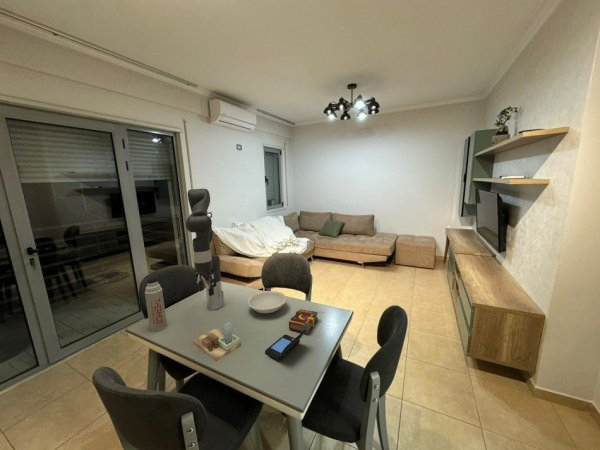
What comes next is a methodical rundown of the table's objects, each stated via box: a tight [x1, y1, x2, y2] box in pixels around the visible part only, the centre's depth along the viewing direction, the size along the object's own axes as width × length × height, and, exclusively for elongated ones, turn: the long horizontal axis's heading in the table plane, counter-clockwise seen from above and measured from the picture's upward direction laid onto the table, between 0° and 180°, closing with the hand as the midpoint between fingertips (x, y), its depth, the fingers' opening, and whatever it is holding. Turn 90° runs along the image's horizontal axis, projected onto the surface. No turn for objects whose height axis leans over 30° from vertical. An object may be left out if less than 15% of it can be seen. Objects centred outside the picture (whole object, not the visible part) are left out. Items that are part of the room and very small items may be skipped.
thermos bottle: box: [144, 278, 168, 333], centre depth 130 cm, size 8×8×28 cm
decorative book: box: [288, 308, 319, 335], centre depth 133 cm, size 11×16×5 cm
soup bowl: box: [246, 290, 288, 314], centre depth 149 cm, size 24×24×7 cm
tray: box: [218, 333, 241, 351], centre depth 116 cm, size 7×7×2 cm
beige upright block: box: [202, 334, 219, 349], centre depth 116 cm, size 6×5×3 cm
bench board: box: [192, 327, 241, 362], centre depth 118 cm, size 13×21×5 cm, turn 50°
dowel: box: [222, 321, 233, 345], centre depth 115 cm, size 4×4×10 cm
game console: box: [264, 329, 306, 362], centre depth 112 cm, size 16×14×9 cm
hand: (206, 292), depth 113 cm, fingers open, 8 cm apart
